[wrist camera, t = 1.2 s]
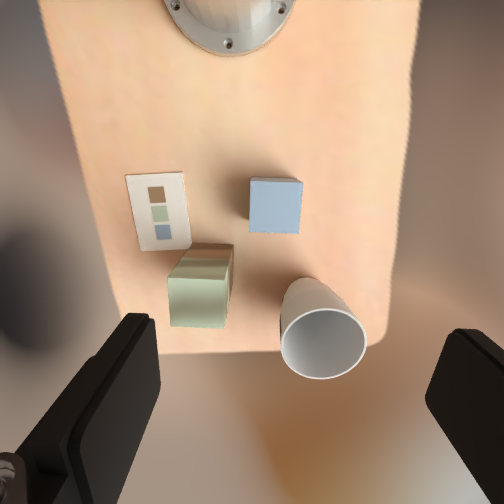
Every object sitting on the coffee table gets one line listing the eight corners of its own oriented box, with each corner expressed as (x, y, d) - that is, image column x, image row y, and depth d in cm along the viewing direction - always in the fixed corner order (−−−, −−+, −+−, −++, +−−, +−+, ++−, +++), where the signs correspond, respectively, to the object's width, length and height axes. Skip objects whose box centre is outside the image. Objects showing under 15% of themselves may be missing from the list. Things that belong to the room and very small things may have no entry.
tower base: (192, 242, 33) (167, 277, 24) (233, 244, 33) (224, 280, 24) (193, 280, 35) (170, 326, 25) (233, 281, 35) (224, 328, 25)
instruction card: (126, 175, 31) (124, 175, 30) (182, 172, 30) (181, 172, 30) (141, 250, 34) (140, 251, 33) (192, 248, 33) (192, 249, 33)
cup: (263, 283, 35) (265, 330, 25) (322, 255, 33) (347, 294, 24) (291, 330, 37) (302, 390, 28) (347, 306, 36) (379, 360, 26)
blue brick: (251, 177, 30) (250, 181, 26) (296, 178, 30) (303, 182, 26) (250, 220, 32) (249, 232, 27) (292, 222, 32) (298, 233, 27)
